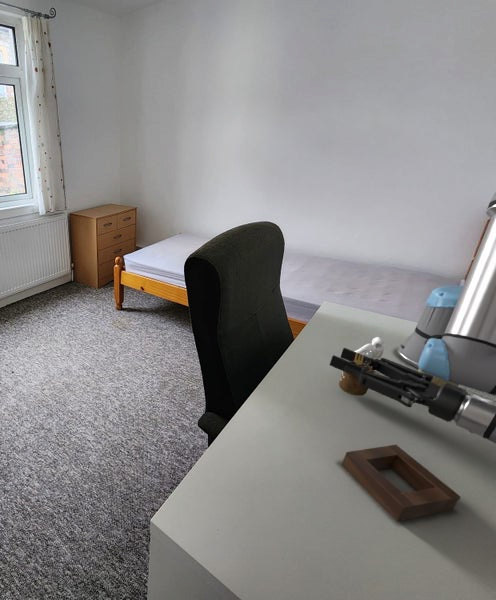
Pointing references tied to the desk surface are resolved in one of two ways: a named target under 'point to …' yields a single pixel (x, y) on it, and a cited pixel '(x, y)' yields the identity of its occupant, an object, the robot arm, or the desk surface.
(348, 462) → the wooden frame
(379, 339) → the figurine
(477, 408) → the robot arm
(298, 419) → the desk surface
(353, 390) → the utensil holder
